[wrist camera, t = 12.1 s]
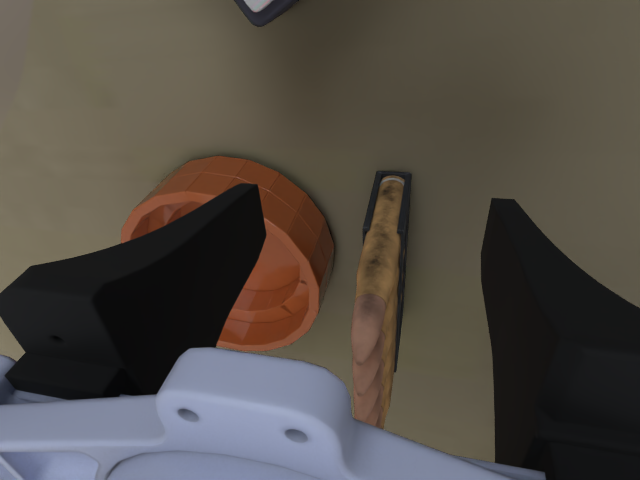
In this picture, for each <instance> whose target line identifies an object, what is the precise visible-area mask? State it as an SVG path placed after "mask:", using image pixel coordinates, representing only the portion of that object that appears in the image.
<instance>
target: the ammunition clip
mask: <svg viewBox="0 0 640 480" xmlns="http://www.w3.org/2000/svg"><path fill="white" fill-rule="evenodd" d="M410 191H411V173H409V172H387V171H378V172H377V173H376V177H375V181H374V185H373V189H372V193H371V197H370V201H369V205H368V209H367V213H366V218H365V222H364V226H363V249H362V253H361V257H360V262H359V266H358V270H357V291H356V297H355V306H354V311H353V316H352V327H351V342H352V352H353V381H354V407H355V419H357V420H360V421H362V422H365V423H368V424H370V425H373V426H376V427H378V428H381V429H383V428H384V423H385V417H386V414H387V412H388V409H389V406H390V399H391V391H392V383H393V375H394V372H396V370H397V361H398V352H399V343H400V334H401V325H402V317H403V305H404V289H405V273H406V256H407V240H408V223H409V207H410Z"/></svg>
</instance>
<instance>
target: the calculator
mask: <svg viewBox="0 0 640 480" xmlns="http://www.w3.org/2000/svg"><path fill="white" fill-rule="evenodd" d="M234 1H235V2H236V4H237V5H238V6H239V8H240V9H241V11H242V12H243V13H244V15H245V16H246V17H247V19H248V20H249V21H250V22H251V23H252V24H253V25H255V26H257V27H262V26H264V25H266V24H268V23H269V22H271V21H272V20H274V19H275V18H277V17H278V16H280V15H281V14H283V13H284V12H286V11H287V10H288V9H289V8H291V7H292V6H293V5H294V4H295V3H296V2H298V1H299V0H234Z"/></svg>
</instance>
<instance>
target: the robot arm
mask: <svg viewBox="0 0 640 480" xmlns="http://www.w3.org/2000/svg"><path fill="white" fill-rule="evenodd" d="M266 236H267V234H266V228H265V222H264V216H263V211H262V205H261V199H260V193H259V188H258V184H248V183H240V184H238V185H235V186H233V187H232V188H230V189H228V190H226V191H225V192H223V193H221V194H220V195H218V196H216V197H215V198H213V199H211V200H210V201H208V202H206V203H205V204H203V205H201V206H200V207H198V208H196V209H195V210H193V211H191V212H189V213H187V214H186V215H184V216H182V217H180V218H178V219H176V220H175V221H173V222H171V223H169V224H167V225H165V226H163V227H161V228H159V229H157V230H154V231H152V232H150V233H147V234H145V235H143V236H140V237H138V238H135V239H132V240H130V241H127V242H124V243H121V244H118V245H116V246H113V247H110V248H107V249H103V250H100V251H96V252H93V253H89V254H85V255H82V256H78V257H74V258H69V259H65V260H60V261H55V262H49V263H44V264H39V265H33V266H31V267H29V268H28V269H27V270H26V271H25V272H24V273H23V274H21V275H20V276H19V277H18V278H17V279H16V280H15V281H13V282H12V283H11V284H10V285H9V286H8V287H7V288H6V289H4V290H3V291H2V292H1V293H0V316H1V318H2V320H3V321H4V323H5V324H6V326H7V327H8V328H9V330H10V331H11V333H12V334H13V335H14V337H15V338H16V340H17V341H18V342H19V344H20V345H21V346H22V348H23V349H24V351H25V352H26V353H25V354H24V355H23V356H22V357H21V358H20V359H19V360H18V361H17V362H16V361H15V360H14V359H12V358H10V357H8V356H5V355H0V480H640V308H638V307H636V306H635V305H633V304H631V303H629V302H628V301H626V300H625V299H623V298H621V297H620V296H618V295H617V294H615V293H614V292H612V291H611V290H609V289H608V288H606V287H605V286H603V285H602V284H600V283H599V282H597V281H596V280H595V279H593V278H592V277H591V276H590V275H588V274H587V273H586V272H584V271H583V270H582V269H581V268H579V267H578V266H577V265H576V264H575V263H573V262H572V261H571V260H570V259H569V258H568V257H567V256H566V255H564V254H563V253H562V252H561V251H560V250H559V249H558V248H557V247H556V246H555V245H554V244H553V243H552V242H551V241H550V240H549V239H548V238H547V237H546V236H545V235H544V234H543V233H542V231H541V230H540V229H539V228H538V227H537V226H536V225H535V223H534V222H533V221H532V220H531V219H530V218H529V216H528V215H527V214H526V213H525V212H524V210H523V209H522V208H521V207H520V206H519V204H518V203H517V202H516V201H515V200H514V199H499V198H492V199H491V205H490V210H489V215H488V220H487V225H486V230H485V235H484V241H483V246H482V251H481V282H482V289H483V295H484V302H485V308H486V314H487V320H488V327H489V333H490V339H491V346H492V356H493V378H494V410H495V463H493V462H487V461H482V460H477V459H471V458H466V457H460V456H455V455H450V454H447V453H444V452H442V451H439V450H437V449H434V448H431V447H429V446H426V445H423V444H421V443H418V442H415V441H413V440H410V439H407V438H405V437H402V436H400V435H397V434H394V433H392V432H389V431H386V430H384V429H381V428H378V427H376V426H373V425H370V424H368V423H365V422H362V421H360V420H357V419H355V418H353V417H352V413H351V397H350V395H349V393H348V391H347V388H346V386H345V384H344V382H343V381H342V380H341V379H340V378H338V377H337V376H336V375H334V374H333V373H331V372H330V371H329V370H327V369H326V368H324V367H321V366H318V365H315V364H312V363H309V362H306V361H300V360H293V359H287V358H280V357H273V356H267V355H260V354H253V353H247V352H240V351H234V350H227V349H220V348H216V345H217V342H218V340H219V337H220V335H221V332H222V330H223V327H224V325H225V322H226V320H227V318H228V316H229V314H230V311H231V309H232V308H233V306H234V304H235V302H236V300H237V298H238V296H239V295H240V293H241V291H242V289H243V287H244V285H245V283H246V282H247V280H248V278H249V276H250V274H251V272H252V270H253V268H254V267H255V265H256V263H257V261H258V259H259V256H260V253H261V250H262V248H263V245H264V242H265V239H266Z"/></svg>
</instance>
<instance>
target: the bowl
mask: <svg viewBox="0 0 640 480" xmlns="http://www.w3.org/2000/svg"><path fill="white" fill-rule="evenodd" d="M240 183H248V184H258V188H259V193H260V199H261V205H262V211H263V216H264V222H265V228H266V234H267V236H266V239H265V242H264V245H263V248H262V250H261V253H260V256H259V259H258V261H257V263H256V265H255V267H254V268H253V270H252V272H251V274H250V276H249V278H248V280H247V282H246V283H245V285H244V287H243V289H242V291H241V293H240V295H239V296H238V298H237V300H236V302H235V304H234V306H233V308H232V309H231V311H230V314H229V316H228V318H227V320H226V322H225V325H224V327H223V330H222V332H221V335H220V337H219V340H218V342H217V345H216V346H220V347H225V348H230V349H235V350H240V351H268V350H269V351H270V350H273V349H276V348H280V347H283V346H287V345H290V344H292V343H293V342H295V341H296V340H297V339H299V338H300V337H301V336H303V335H304V334H305V333H307V332H308V331H309V330H310V328H311V326H312V324H313V322H314V320H315V318H316V316H317V315H318V313H319V310H320V306H321V303H322V300H323V297H324V294H325V291H326V288H327V284H328V281H329V278H330V275H331V272H332V269H333V255H334V244H333V241H332V238H331V235H330V232H329V229H328V226H327V223H326V220H325V218H324V216H323V215H322V214H321V212H320V211H319V209H318V208H317V207H316V205H315V204H314V203H313V201H312V200H311V199H310V197H309V196H308V195H307V194H306V193H305V192H304V191H303V190H301V189H300V188H299V187H297V186H296V185H295V184H294V183H292V182H291V181H290V180H288V179H287V178H286V177H285V176H283V175H282V174H280V173H279V172H277V171H275V170H272V169H270V168H267V167H265V166H263V165H260V164H258V163H256V162H253V161H251V160H247V159H239V158H231V157H224V156H214V157H208V158H203V159H198V160H193V161H188V162H187V163H185V164H184V165H182V166H181V167H179V168H178V169H176V170H175V171H173V172H172V173H170V174H169V175H168V176H167V177H166V178H165V179H164V180H163V181H162V182H161V183H160V184H159V185H158V186H157V187H156V188H155V189H154V190H153V191H152V192H150V193H149V194H148V195H147V196H146V197H145V198H144V199H143V200H142V201H141V202H140V203H139V204H138V205H137V206H136V207H135V208H134V209H133V210H132V212H131V214H130V215H129V217H128V219H127V221H126V223H125V224H124V226H123V228H122V231H121V243H124V242H127V241H130V240H132V239H135V238H138V237H140V236H143V235H145V234H147V233H150V232H152V231H154V230H157V229H159V228H161V227H163V226H165V225H167V224H169V223H171V222H173V221H175V220H176V219H178V218H180V217H182V216H184V215H186V214H187V213H189V212H191V211H193V210H195V209H196V208H198V207H200V206H201V205H203V204H205V203H206V202H208V201H210V200H211V199H213V198H215V197H216V196H218V195H220V194H221V193H223V192H225V191H226V190H228V189H230V188H232V187H233V186H235V185H238V184H240Z"/></svg>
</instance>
